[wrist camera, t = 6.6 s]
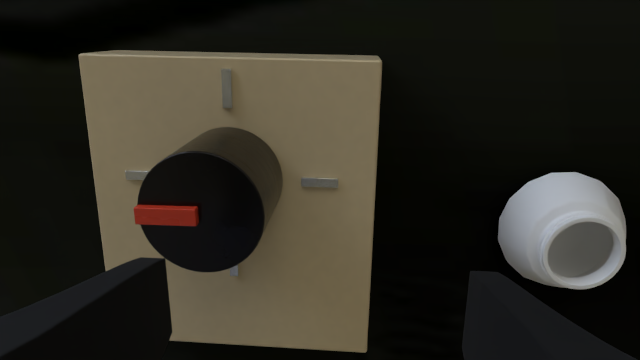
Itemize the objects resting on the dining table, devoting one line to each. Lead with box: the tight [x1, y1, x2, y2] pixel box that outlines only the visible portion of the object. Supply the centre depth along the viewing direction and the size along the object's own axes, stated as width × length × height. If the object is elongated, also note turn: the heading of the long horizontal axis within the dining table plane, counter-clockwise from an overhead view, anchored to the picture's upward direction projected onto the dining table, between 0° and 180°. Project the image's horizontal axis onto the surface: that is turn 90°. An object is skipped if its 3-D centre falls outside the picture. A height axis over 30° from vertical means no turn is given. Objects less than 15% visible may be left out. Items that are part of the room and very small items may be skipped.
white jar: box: [498, 172, 626, 289], centre depth 20 cm, size 5×3×5 cm
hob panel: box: [79, 50, 382, 353], centre depth 20 cm, size 12×11×3 cm
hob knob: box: [134, 127, 283, 272], centre depth 17 cm, size 4×4×4 cm
